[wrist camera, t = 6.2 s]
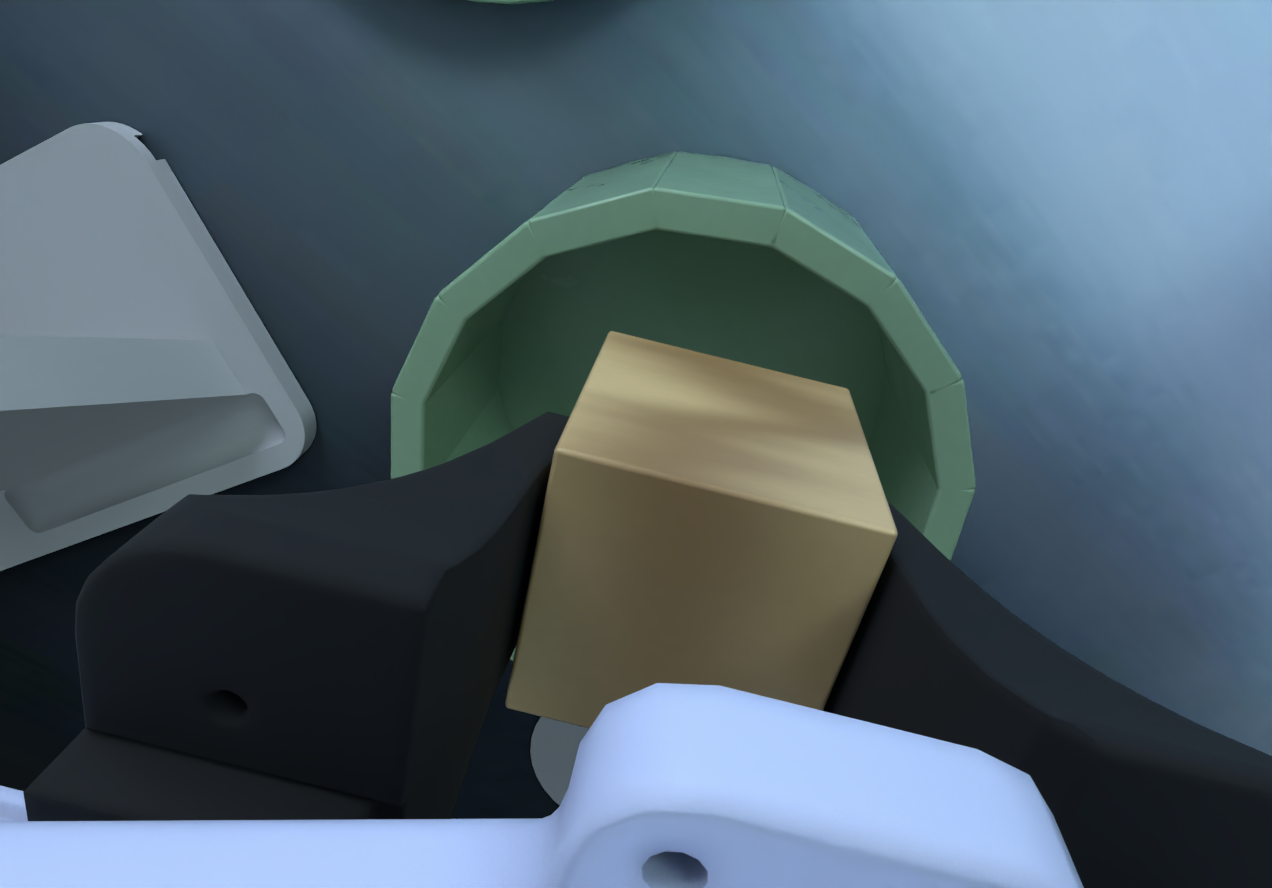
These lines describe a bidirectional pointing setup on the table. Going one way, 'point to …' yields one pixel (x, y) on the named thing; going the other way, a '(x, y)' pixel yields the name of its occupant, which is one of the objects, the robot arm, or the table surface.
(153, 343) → the phone holder
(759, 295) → the tin
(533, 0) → the lid
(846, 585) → the block
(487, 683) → the robot arm
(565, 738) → the wine glass
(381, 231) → the table surface
